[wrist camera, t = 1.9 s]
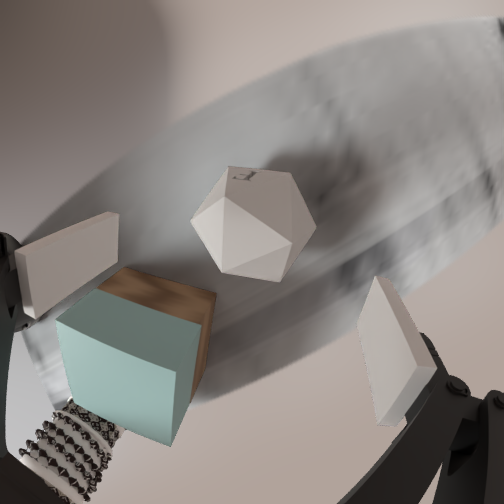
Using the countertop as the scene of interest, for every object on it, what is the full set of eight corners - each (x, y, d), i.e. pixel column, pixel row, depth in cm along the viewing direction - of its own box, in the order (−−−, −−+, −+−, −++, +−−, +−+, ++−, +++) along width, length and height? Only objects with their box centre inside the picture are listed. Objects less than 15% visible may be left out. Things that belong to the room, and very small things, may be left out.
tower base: (126, 341, 34) (102, 370, 28) (125, 266, 30) (93, 289, 25) (205, 368, 33) (190, 403, 27) (217, 292, 29) (198, 324, 24)
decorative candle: (102, 338, 34) (-15, 474, 11) (161, 379, 35) (70, 539, 11) (91, 374, 37) (0, 490, 14) (142, 409, 38) (68, 539, 14)
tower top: (101, 368, 28) (74, 402, 23) (95, 287, 24) (55, 319, 19) (189, 403, 27) (170, 446, 22) (201, 325, 24) (176, 372, 18)
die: (331, 206, 25) (305, 142, 17) (303, 302, 24) (262, 281, 16) (250, 193, 29) (198, 138, 21) (220, 277, 28) (153, 248, 19)
